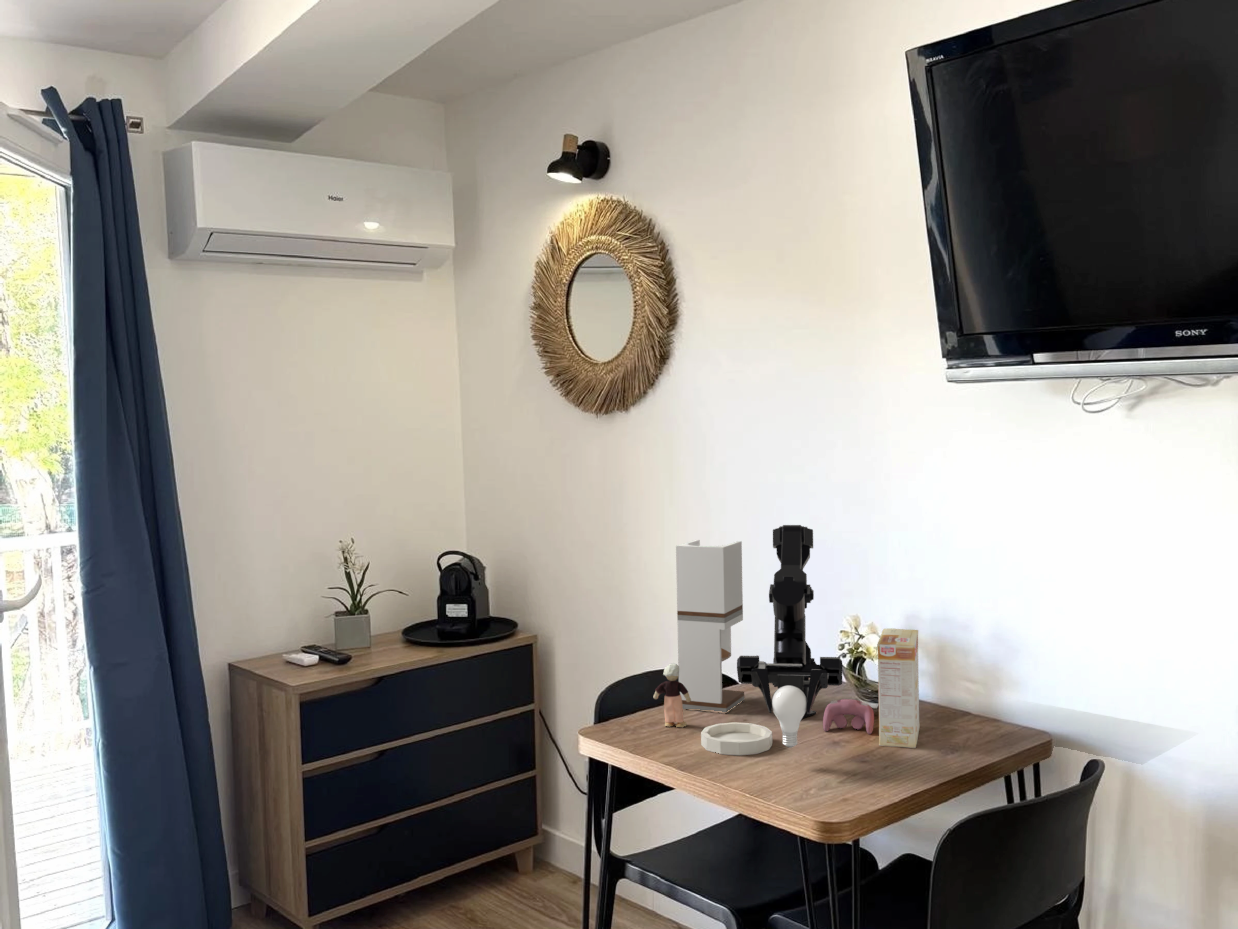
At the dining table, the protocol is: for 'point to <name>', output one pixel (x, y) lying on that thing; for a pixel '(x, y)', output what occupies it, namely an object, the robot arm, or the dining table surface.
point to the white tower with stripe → (707, 620)
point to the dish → (736, 738)
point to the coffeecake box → (898, 688)
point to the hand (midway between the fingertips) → (789, 712)
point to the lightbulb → (789, 712)
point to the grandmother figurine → (672, 696)
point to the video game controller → (849, 707)
